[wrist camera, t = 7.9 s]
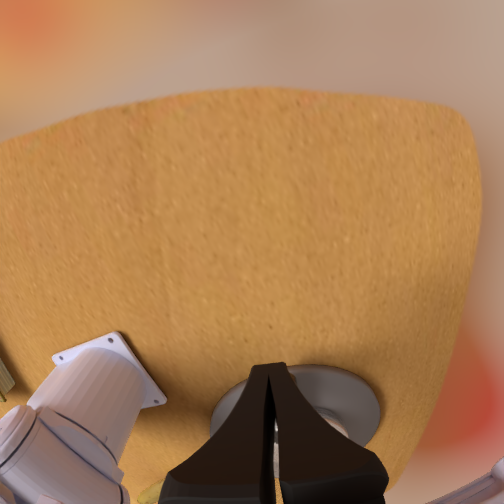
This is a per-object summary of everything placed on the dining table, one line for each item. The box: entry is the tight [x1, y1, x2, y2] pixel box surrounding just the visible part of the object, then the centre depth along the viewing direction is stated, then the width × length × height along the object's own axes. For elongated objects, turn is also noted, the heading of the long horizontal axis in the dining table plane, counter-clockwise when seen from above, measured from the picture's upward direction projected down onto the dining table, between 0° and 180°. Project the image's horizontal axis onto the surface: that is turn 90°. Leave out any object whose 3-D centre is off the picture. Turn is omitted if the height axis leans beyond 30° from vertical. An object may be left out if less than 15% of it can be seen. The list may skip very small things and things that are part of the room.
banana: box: [137, 478, 165, 504], centre depth 26 cm, size 10×2×4 cm, turn 125°
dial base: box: [210, 365, 380, 447], centre depth 24 cm, size 16×16×1 cm
